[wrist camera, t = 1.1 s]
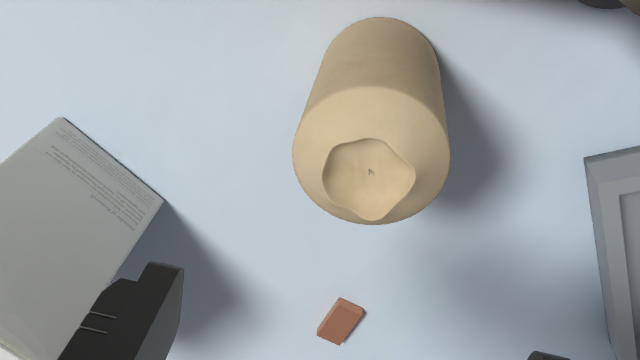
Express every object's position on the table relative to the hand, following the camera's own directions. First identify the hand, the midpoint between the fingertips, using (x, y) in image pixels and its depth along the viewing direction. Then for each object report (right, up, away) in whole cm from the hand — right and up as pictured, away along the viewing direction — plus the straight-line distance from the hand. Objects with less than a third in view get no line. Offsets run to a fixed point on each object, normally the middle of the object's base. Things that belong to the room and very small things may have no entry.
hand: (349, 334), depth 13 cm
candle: (+2, +9, +14) cm, 17 cm away
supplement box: (-14, +3, +20) cm, 25 cm away
